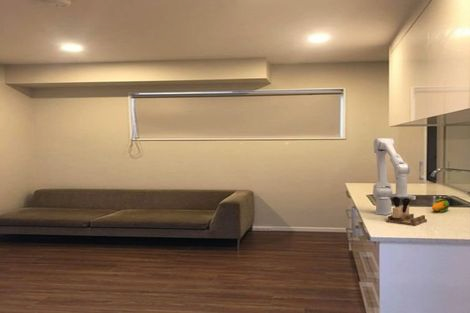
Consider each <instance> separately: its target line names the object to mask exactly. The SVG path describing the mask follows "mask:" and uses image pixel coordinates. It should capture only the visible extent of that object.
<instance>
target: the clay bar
mask: <svg viewBox="0 0 470 313" xmlns="http://www.w3.org/2000/svg"><path fill="white" fill-rule="evenodd" d="M392 212H393V213H392V214H391V215H392V217H393V218H400V217H403V216H406V215H409V214H410V205H409V204H408V206H407V209H406V212H405V213H403V204H402V205H399V206H398V207H395V206H394V207H392Z"/></svg>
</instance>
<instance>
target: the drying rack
mask: <svg viewBox="0 0 470 313" xmlns="http://www.w3.org/2000/svg"><path fill="white" fill-rule="evenodd" d="M392 215H393V214H390V215H387V219H385V222H386V223H389V222H390V223H391V224H396V225H397V224H398V225H404V226H405V225H406V226H410V227H412V226H413V227H416V226H419V225H421V224H424V223H427V222H428V219H427V218H426V215H425V214H422V215H419V216H417V217H415V216H414V213H409V215H406V216H403V217H400V218H393V217H392ZM390 223H389V224H390Z"/></svg>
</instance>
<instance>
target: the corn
mask: <svg viewBox="0 0 470 313" xmlns="http://www.w3.org/2000/svg"><path fill="white" fill-rule="evenodd" d="M449 206H450V202H449V201H448V200H446V199H445V198H437V199H435V202H434V203H432V206H431V209H432V210H433V212H436V213H437V212H439V213H444V212H446V211H448V209H449Z"/></svg>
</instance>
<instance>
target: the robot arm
mask: <svg viewBox="0 0 470 313" xmlns="http://www.w3.org/2000/svg"><path fill="white" fill-rule="evenodd" d="M373 153H375V154H376V167H377V168H376V170H377V172H376V173H377V182H376V183H374V185H373V189H372V196H373V197H374V199H375V212H372V213H373V214H375V215H382V216H389V215H392V214H393V211H392V210H393V206H392V202H393V205H394V207H398V206H400V204H401V203H400V202H401V201H402V205H403V213H405V212H406V209H407V206H408V205H409V204H410V202H411V200H413V201H415V200H416V199H417V198H416V197H417V196H416V195H411V194H408V175H409V174H410V171H411V170H410V164H408V163H407V162H404V160H403V158H402V157H401V155H400V154H398V153H397V152H396V149H395V141H394V139H393V138H392V137H382V138H379V137H376V138H375V139H374V140H373ZM387 155H388V156H389V157H390V158H389V161H390V163H391V164H392V166H393V173H394V178H395V193H394V191H393V188H392V187H393V186H392V184H391V183H389V182H388V176H387V161H386V160H387V158H386V156H387ZM401 199H402V200H401Z"/></svg>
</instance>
